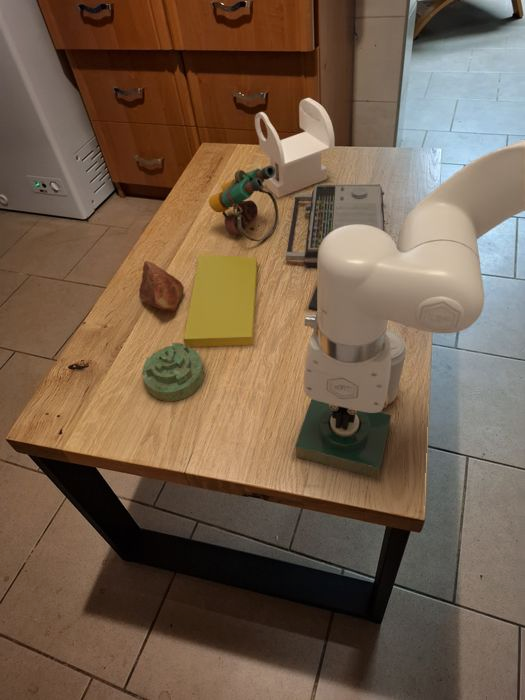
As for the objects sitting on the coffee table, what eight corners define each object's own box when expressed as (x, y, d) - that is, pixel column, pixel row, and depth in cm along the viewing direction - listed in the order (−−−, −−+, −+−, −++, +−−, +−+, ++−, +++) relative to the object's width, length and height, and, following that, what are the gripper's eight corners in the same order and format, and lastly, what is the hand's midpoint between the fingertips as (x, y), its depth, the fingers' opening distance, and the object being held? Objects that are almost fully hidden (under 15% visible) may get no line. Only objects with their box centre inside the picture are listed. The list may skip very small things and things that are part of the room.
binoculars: (263, 223, 115) (228, 168, 108) (309, 207, 105) (273, 144, 98) (234, 258, 107) (194, 201, 100) (281, 243, 98) (240, 179, 91)
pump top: (360, 420, 70) (361, 412, 68) (355, 443, 67) (355, 436, 66) (333, 413, 71) (334, 405, 69) (327, 436, 68) (327, 429, 67)
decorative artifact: (150, 357, 86) (142, 403, 79) (139, 330, 81) (130, 377, 74) (206, 352, 85) (202, 399, 79) (198, 325, 80) (194, 373, 74)
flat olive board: (253, 344, 86) (258, 259, 101) (251, 336, 84) (257, 250, 100) (186, 347, 87) (201, 261, 102) (183, 339, 85) (199, 253, 101)
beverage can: (358, 373, 80) (364, 323, 71) (398, 380, 78) (409, 329, 69) (352, 405, 76) (357, 356, 67) (394, 412, 74) (405, 363, 65)
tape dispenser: (283, 203, 114) (279, 127, 101) (257, 180, 122) (250, 106, 108) (333, 183, 118) (335, 107, 104) (305, 162, 126) (303, 89, 112)
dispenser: (389, 425, 73) (393, 407, 69) (378, 478, 67) (381, 461, 64) (312, 407, 76) (311, 388, 72) (295, 456, 71) (294, 439, 67)
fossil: (175, 313, 88) (144, 266, 84) (141, 330, 91) (109, 285, 87) (197, 288, 98) (171, 245, 95) (166, 304, 102) (139, 263, 98)
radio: (388, 247, 92) (284, 246, 95) (385, 269, 96) (285, 267, 99) (384, 179, 107) (295, 180, 110) (382, 200, 111) (296, 200, 114)
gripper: (276, 343, 53) (284, 429, 67) (415, 371, 49) (393, 457, 63) (296, 297, 58) (299, 387, 72) (424, 320, 54) (402, 411, 68)
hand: (343, 420), depth 68 cm, fingers closed
